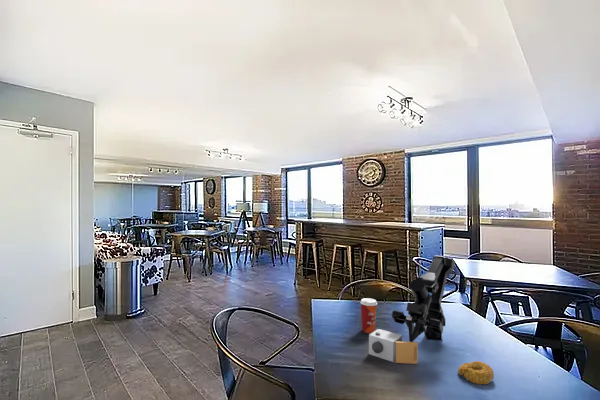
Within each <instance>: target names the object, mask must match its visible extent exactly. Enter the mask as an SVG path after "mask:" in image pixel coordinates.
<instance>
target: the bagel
mask: <svg viewBox="0 0 600 400" xmlns="http://www.w3.org/2000/svg"><path fill="white" fill-rule="evenodd" d="M457 372H458V375H460V376H461V375H462V376H461V377H463V376H464V377H463V378H464V379H465V378H466V379H465V380H467V379H468V380H469V381H468V380H467V381H468V382H470V381H471V382H470V383H472V382H473V383H472V384H474V383H477V384H476V385H481V384H484V385H488V384H490V383H491V382H492V381H493V380H494V379H495V374H494V369H493V368H492V367H491V366H490V365H488V364H487V363H485V362H482V361H478V360H477V361H475V360H474V361H471V362H464V363H463V364H460V366H459V367H458V369H457Z"/></svg>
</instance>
